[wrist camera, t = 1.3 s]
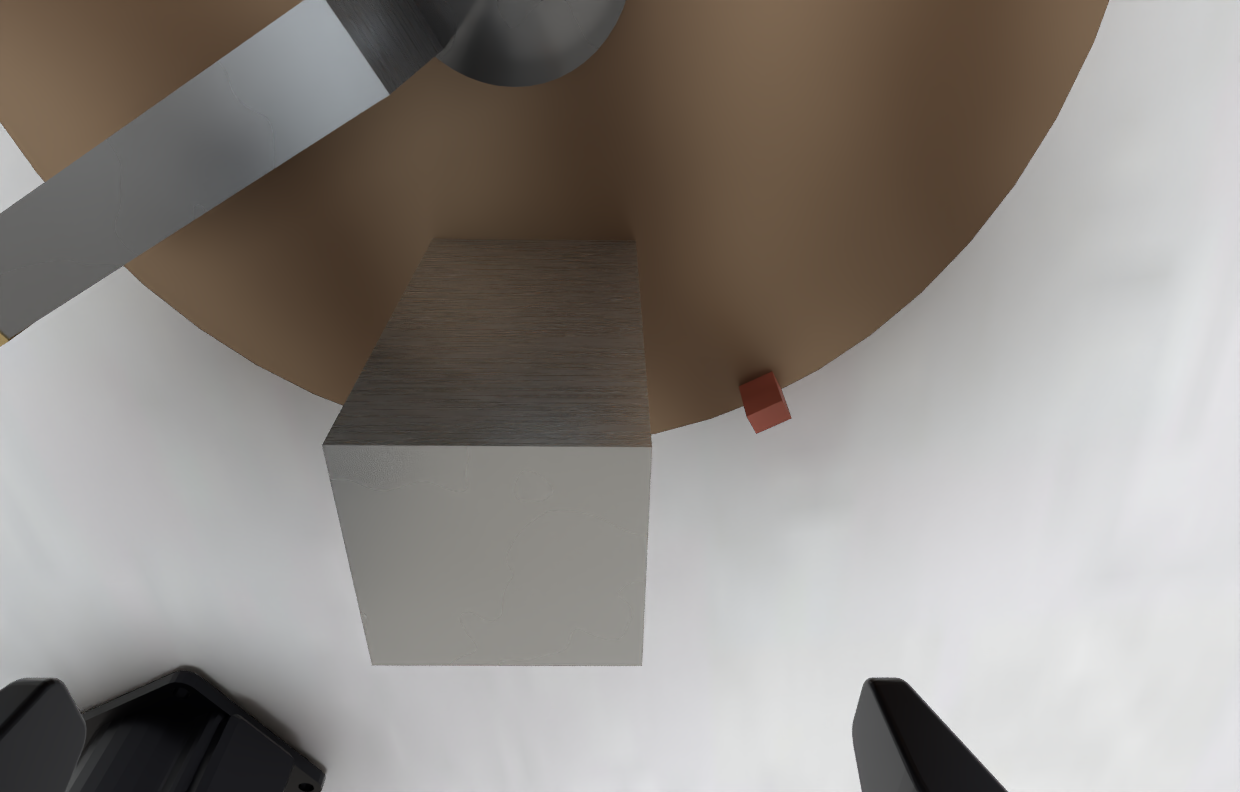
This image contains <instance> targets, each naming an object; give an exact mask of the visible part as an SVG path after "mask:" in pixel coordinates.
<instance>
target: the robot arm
mask: <svg viewBox="0 0 1240 792" xmlns="http://www.w3.org/2000/svg"><path fill="white" fill-rule="evenodd" d="M852 737H853V746H854V751H855V757H856V762H857V768H858V773H859V779H860V784H861V789H862V792H1008V791H1007V790H1006V789H1005V788H1004V787H1003V786H1002V785H1001V784H1000V783H999V782H998V780H997V779H996V778H995V777H994V776H993V775H992V774H991V773H990V772H989V771H988V770H987V768H986V767H985V766H984V765H983V764H982V763H981V762H980V761H979V760H978V759H977V758H976V757H975V755H974V754H973V753H972V752H971V751H970V750H969V749H968V748H967V747H966V746H965V745H964V744H963V742H962V741H961V740H960V739H959V738H958V737H957V736H956V735H955V734H954V733H953V732H952V731H951V729H950V728H949V727H948V726H947V725H946V724H945V723H944V722H943V721H942V720H941V719H940V717H939V716H938V715H937V714H936V713H935V712H934V711H933V710H932V709H931V708H930V707H929V706H928V704H927V703H926V702H925V701H924V700H923V699H922V698H921V697H920V696H919V695H918V694H917V693H916V691H915V690H914V689H913V688H912V687H911V686H910V685H909V684H908V683H907V682H906V681H904V680H902V679H900V678H868V679H867V680H866V681H865V682H864V684H863V687H862V691H861V694H860V698H859V702H858V705H857V709H856V713H855V716H854V720H853V726H852ZM324 781H325V774H324V773H323V772H322V771H321V770H319V769H318V768H317V767H315V766H314V765H313V764H312V763H310V762H309V761H308V760H307V759H305V758H304V757H303V756H301V755H300V754H299V753H298V752H296V751H295V750H294V749H292V748H291V747H290V746H289V745H287V744H286V743H285V742H283V741H282V740H281V739H280V738H278V737H277V736H276V735H274V734H273V733H272V732H271V731H269V730H268V729H267V728H265V727H264V726H263V725H262V724H260V723H259V722H258V721H256V720H255V719H254V718H253V717H251V716H250V715H249V714H247V713H246V712H245V711H244V710H242V709H241V708H240V707H238V706H237V705H236V704H235V703H233V702H232V701H231V700H229V699H228V698H227V697H226V696H224V695H223V694H222V693H220V692H219V691H218V690H217V689H215V688H214V687H213V686H211V685H210V684H209V683H208V682H206V681H205V680H204V679H202V678H201V677H200V676H198V675H196V674H195V673H192V672H188V671H178V672H174V673H172V674H170V675H168V676H165V677H163V678H161V679H159V680H157V681H154V682H152V683H150V684H148V685H145V686H143V687H141V688H139V689H137V690H134V691H132V692H130V693H128V694H125V695H123V696H121V697H119V698H117V699H114V700H112V701H110V702H108V703H105V704H103V705H101V706H99V707H97V708H94V709H92V710H90V711H88V712H85V713H83V714H81V713H80V711H79V709H78V707H77V706H76V704H75V702H74V700H73V698H72V696H71V694H70V693H69V691H68V689H67V687H66V685H65V684H64V683H63V682H62V681H61V680H59V679H57V678H23V679H19V680H16V681H14V682H12V683H10V684H9V685H7V686H6V687H4V688H3V689H1V690H0V792H321V790H322V787H323V784H324Z"/></svg>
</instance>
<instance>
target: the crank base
mask: <svg viewBox="0 0 1240 792" xmlns="http://www.w3.org/2000/svg"><path fill="white" fill-rule="evenodd" d="M302 1H304V0H0V122H1V124H2V125H3V126H4V128H5V129H6V131H7V132H8V133H9V135H10V136H11V138H12V139H13V140H14V142H15V143H16V145H17V146H18V147H19V149H20V150H21V152H22V153H23V154H24V156H25V157H26V159H27V160H28V161H29V163H30V164H31V165H32V167H33V168H34V170H35V171H36V172H37V174H38V175H39V176H40V177H41V178H42V179H43V180H44V182H46V181H47V180H49V179H50V178H52V177H53V176H55V175H56V174H57V173H59V172H60V171H62V170H63V169H64V168H66V167H67V166H69V165H70V164H72V163H73V162H74V161H76V160H77V159H79V158H80V157H82V156H83V155H84V154H86V153H87V152H89V151H90V150H92V149H93V148H94V147H96V146H97V145H99V144H100V143H101V142H103V141H104V140H106V139H107V138H109V137H110V136H111V135H113V134H114V133H116V132H117V131H119V130H120V129H121V128H123V127H124V126H126V125H127V124H129V123H130V122H131V121H133V120H134V119H136V118H137V117H138V116H140V115H141V114H143V113H144V112H146V111H147V110H148V109H150V108H151V107H153V106H154V105H156V104H157V103H158V102H160V101H161V100H163V99H164V98H166V97H167V96H168V95H170V94H171V93H173V92H174V91H175V90H177V89H178V88H180V87H181V86H183V85H184V84H185V83H187V82H188V81H190V80H191V79H193V78H194V77H195V76H197V75H198V74H200V73H201V72H203V71H204V70H205V69H207V68H208V67H210V66H211V65H213V64H214V63H215V62H217V61H218V60H220V59H221V58H222V57H224V56H225V55H227V54H228V53H230V52H231V51H232V50H234V49H235V48H237V47H238V46H240V45H241V44H242V43H244V42H245V41H247V40H248V39H250V38H251V37H252V36H254V35H255V34H257V33H258V32H259V31H261V30H262V29H264V28H265V27H267V26H268V25H269V24H271V23H272V22H274V21H275V20H277V19H278V18H279V17H281V16H282V15H284V14H285V13H287V12H288V11H289V10H291V9H292V8H294V7H295V6H296V5H298V4H299V3H301V2H302ZM1108 2H1109V0H626V2H625V5H624V8H623V10H622V12H621V14H620V17H619V19H618V21H617V23H616V25H615V26H614V28H613V30H612V31H611V33H610V34H609V36H608V38H607V39H606V40H605V42H604V43H603V44H602V45H601V46H600V48H599V49H598V50H597V51H596V52H595V53H594V54H593V55H592V56H591V57H590V58H589V59H588V60H587V61H585V62H584V63H583V64H581V65H580V66H579V67H577V68H576V69H574V70H573V71H571V72H569V73H567V74H566V75H564V76H562V77H560V78H558V79H555V80H552V81H549V82H546V83H543V84H538V85H533V86H525V87H506V86H496V85H492V84H487V83H483V82H480V81H477V80H474V79H472V78H469V77H466V76H465V75H463V74H461V73H459V72H457V71H455V70H453V69H451V68H450V67H448V66H447V65H446V64H444V63H443V62H441V61H440V60H438V59H437V58H436V57H434V58H432V59H431V60H430V61H429V62H428V63H427V64H425V65H424V66H423V67H422V68H421V69H419V70H418V71H417V72H416V73H415V74H414V75H412V76H411V77H410V78H409V79H408V80H406V81H405V82H404V83H403V84H402V85H401V86H399V87H398V88H397V89H396V90H395V91H393V92H392V93H391V94H390V95H388V96H387V97H385V98H384V99H382V100H381V101H379V102H378V103H376V104H374V105H373V106H371V107H370V108H368V109H367V110H365V111H363V112H362V113H360V114H359V115H357V116H356V117H354V118H353V119H351V120H349V121H348V122H346V123H345V124H343V125H342V126H340V127H339V128H337V129H335V130H334V131H332V132H331V133H329V134H328V135H326V136H324V137H323V138H321V139H320V140H318V141H317V142H315V143H314V144H312V145H310V146H309V147H307V148H306V149H304V150H303V151H301V152H300V153H298V154H296V155H295V156H293V157H292V158H290V159H289V160H287V161H285V162H284V163H282V164H281V165H279V166H278V167H276V168H275V169H273V170H271V171H270V172H268V173H267V174H265V175H264V176H262V177H261V178H259V179H257V180H256V181H254V182H253V183H251V184H250V185H248V186H247V187H245V188H243V189H242V190H240V191H239V192H237V193H236V194H234V195H232V196H231V197H229V198H228V199H226V200H225V201H223V202H222V203H220V204H218V205H217V206H215V207H214V208H212V209H211V210H209V211H208V212H206V213H204V214H203V215H201V216H200V217H198V218H197V219H195V220H193V221H192V222H190V223H189V224H187V225H186V226H184V227H183V228H181V229H179V230H178V231H176V232H175V233H173V234H172V235H170V236H169V237H167V238H165V239H164V240H162V241H161V242H159V243H158V244H156V245H155V246H153V247H151V248H150V249H148V250H147V251H145V252H144V253H142V254H140V255H139V256H137V257H136V258H134V259H133V260H131V261H130V262H128V263H126V264H125V265H123V266H125V267H126V268H127V269H128V270H129V271H130V272H131V273H132V274H133V275H134V276H135V277H136V278H137V279H138V280H139V281H140V282H141V283H142V284H143V285H145V286H146V287H147V288H148V289H150V290H151V291H152V292H154V293H155V294H156V295H157V296H159V297H160V298H161V299H163V300H164V301H165V302H166V303H168V304H169V305H170V306H171V307H173V308H174V309H175V310H177V311H178V312H179V313H180V314H182V315H183V316H184V317H185V318H187V319H188V320H189V321H191V322H192V323H193V324H194V325H196V326H197V327H198V328H200V329H201V330H203V331H204V332H206V333H207V334H209V335H210V336H212V337H214V338H215V339H217V340H218V341H220V342H221V343H223V344H225V345H226V346H228V347H229V348H231V349H232V350H234V351H236V352H237V353H239V354H240V355H242V356H243V357H245V358H246V359H248V360H250V361H251V362H253V363H254V364H256V365H258V366H260V367H262V368H264V369H266V370H268V371H270V372H271V373H273V374H275V375H277V376H279V377H281V378H283V379H285V380H287V381H289V382H291V383H293V384H295V385H297V386H299V387H301V388H303V389H305V390H307V391H309V392H311V393H313V394H315V395H318V396H320V397H323V398H325V399H328V400H331V401H333V402H336V403H338V404H341V405H344V404H345V402H346V400H347V398H348V396H349V394H350V392H351V390H352V389H353V387H354V385H355V383H356V381H357V379H358V377H359V376H360V374H361V372H362V370H363V368H364V366H365V364H366V362H367V361H368V359H369V357H370V355H371V353H372V351H373V349H374V348H375V346H376V344H377V342H378V340H379V338H380V336H381V334H382V333H383V331H384V329H385V327H386V325H387V323H388V321H389V319H390V318H391V316H392V314H393V312H394V310H395V308H396V306H397V305H398V303H399V301H400V299H401V297H402V295H403V293H404V291H405V290H406V288H407V286H408V284H409V282H410V280H411V278H412V277H413V275H414V273H415V271H416V269H417V267H418V265H419V263H420V262H421V260H422V258H423V256H424V254H425V252H426V250H427V249H428V247H429V245H430V243H431V241H432V239H433V238H434V239H523V240H613V241H636V249H637V262H638V275H639V287H640V300H641V313H642V326H643V339H644V352H645V365H646V378H647V391H648V403H649V416H650V429H651V434H656V433H660V432H663V431H667V430H671V429H674V428H678V427H682V426H686V425H689V424H693V423H697V422H700V421H704V420H708V419H711V418H714V417H716V416H719V415H722V414H724V413H727V412H729V411H732V410H734V409H737V408H740V407H742V406H744V408H745V412H746V416H747V418H748V420H749V422H750V423H751V425H752V427H753V429H754V430H755V432H756V434H757V433H759V432H762V431H764V430H766V429H768V428H771V427H773V426H775V425H777V424H780V423H782V422H784V421H786V420H789V419H791V415H790V412H789V409H788V407H787V404H786V401H785V398H784V395H783V393H782V390H781V389H782V388H784V387H786V386H788V385H790V384H792V383H794V382H796V381H798V380H800V379H802V378H804V377H805V376H807V375H809V374H811V373H813V372H815V371H817V370H819V369H820V368H822V367H823V366H825V365H826V364H828V363H829V362H831V361H832V360H834V359H835V358H837V357H838V356H840V355H841V354H843V353H844V352H846V351H847V350H849V349H850V348H852V347H853V346H855V345H856V344H858V343H859V342H861V341H862V340H864V339H865V338H867V337H868V336H870V335H871V334H872V333H874V332H875V331H876V330H877V329H878V328H880V327H881V326H882V325H883V324H884V323H886V322H887V321H888V320H889V319H890V318H892V317H893V316H894V315H895V314H896V313H898V312H899V311H900V310H901V309H902V308H904V307H905V306H906V305H907V304H908V303H910V302H911V301H912V300H913V299H914V298H916V297H917V296H918V295H919V294H920V293H921V292H922V291H923V290H924V289H925V288H926V287H927V286H928V285H929V284H930V283H931V282H932V281H933V280H934V279H935V278H936V277H937V276H938V275H939V274H940V273H941V272H942V271H943V270H944V269H945V268H946V267H947V266H948V265H949V263H950V262H951V261H952V260H953V259H954V258H955V257H956V256H957V255H958V254H959V253H960V252H961V251H962V250H963V249H964V248H965V247H966V246H967V245H968V244H969V243H970V242H971V240H972V239H973V238H974V236H975V235H976V234H977V233H978V231H979V230H980V229H981V227H982V226H983V225H984V224H985V222H986V221H987V220H988V218H989V217H990V216H991V215H992V213H993V212H994V211H995V210H996V208H997V207H998V206H999V204H1000V203H1001V202H1002V201H1003V199H1004V198H1005V197H1006V195H1007V194H1008V193H1009V192H1010V190H1011V189H1012V188H1013V187H1014V185H1015V184H1016V182H1017V181H1018V179H1019V177H1020V176H1021V174H1022V173H1023V171H1024V169H1025V168H1026V166H1027V165H1028V163H1029V161H1030V160H1031V158H1032V157H1033V155H1034V153H1035V152H1036V150H1037V149H1038V147H1039V145H1040V144H1041V142H1042V141H1043V139H1044V137H1045V136H1046V134H1047V133H1048V131H1049V129H1050V128H1051V126H1052V125H1053V123H1054V121H1055V120H1056V118H1057V116H1058V114H1059V112H1060V110H1061V108H1062V106H1063V104H1064V102H1065V100H1066V98H1067V96H1068V94H1069V92H1070V90H1071V88H1072V86H1073V84H1074V82H1075V80H1076V77H1077V75H1078V73H1079V71H1080V69H1081V67H1082V65H1083V63H1084V61H1085V59H1086V57H1087V55H1088V53H1089V51H1090V49H1091V47H1092V45H1093V43H1094V40H1095V38H1096V35H1097V32H1098V29H1099V27H1100V24H1101V21H1102V19H1103V16H1104V13H1105V10H1106V8H1107V5H1108Z"/></svg>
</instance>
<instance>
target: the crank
mask: <svg viewBox="0 0 1240 792" xmlns="http://www.w3.org/2000/svg"><path fill="white" fill-rule="evenodd" d="M625 2H626V0H304V1H302V2H301V3H299V4H298V5H296V6H295V7H294V8H292V9H291V10H289V11H288V12H287V13H285V14H284V15H282V16H281V17H279V18H278V19H277V20H275V21H274V22H272V23H271V24H269V25H268V26H267V27H265V28H264V29H262V30H261V31H259V32H258V33H257V34H255V35H254V36H252V37H251V38H250V39H248V40H247V41H245V42H244V43H242V44H241V45H240V46H238V47H237V48H235V49H234V50H232V51H231V52H230V53H228V54H227V55H225V56H224V57H222V58H221V59H220V60H218V61H217V62H215V63H214V64H213V65H211V66H210V67H208V68H207V69H205V70H204V71H203V72H201V73H200V74H198V75H197V76H195V77H194V78H193V79H191V80H190V81H188V82H187V83H185V84H184V85H183V86H181V87H180V88H178V89H177V90H175V91H174V92H173V93H171V94H170V95H168V96H167V97H166V98H164V99H163V100H161V101H160V102H158V103H157V104H156V105H154V106H153V107H151V108H150V109H148V110H147V111H146V112H144V113H143V114H141V115H140V116H138V117H137V118H136V119H134V120H133V121H131V122H130V123H129V124H127V125H126V126H124V127H123V128H121V129H120V130H119V131H117V132H116V133H114V134H113V135H111V136H110V137H109V138H107V139H106V140H104V141H103V142H101V143H100V144H99V145H97V146H96V147H94V148H93V149H92V150H90V151H89V152H87V153H86V154H84V155H83V156H82V157H80V158H79V159H77V160H76V161H74V162H73V163H72V164H70V165H69V166H67V167H66V168H64V169H63V170H62V171H60V172H59V173H57V174H56V175H55V176H53V177H52V178H50V179H49V180H47V181H46V182H45V183H43V184H42V185H40V186H39V187H37V188H36V189H35V190H33V191H32V192H30V193H29V194H27V195H26V196H25V197H23V198H22V199H20V200H19V201H18V202H16V203H15V204H13V205H12V206H10V207H9V208H8V209H6V210H5V211H3V212H2V213H0V346H2V345H3V344H5V343H6V342H8V341H10V340H11V339H12V338H14V337H15V336H16V335H18V334H19V333H21V332H22V331H23V330H25V329H26V328H28V327H29V326H30V325H32V324H33V323H35V322H36V321H38V320H39V319H41V318H42V317H44V316H45V315H47V314H48V313H50V312H52V311H53V310H55V309H56V308H58V307H59V306H61V305H62V304H64V303H66V302H67V301H69V300H70V299H72V298H73V297H75V296H77V295H78V294H80V293H81V292H83V291H84V290H86V289H87V288H89V287H91V286H92V285H94V284H95V283H97V282H98V281H100V280H101V279H103V278H105V277H106V276H108V275H109V274H111V273H112V272H114V271H116V270H117V269H119V268H120V267H122V266H123V265H125V264H126V263H128V262H130V261H131V260H133V259H134V258H136V257H137V256H139V255H140V254H142V253H144V252H145V251H147V250H148V249H150V248H151V247H153V246H155V245H156V244H158V243H159V242H161V241H162V240H164V239H165V238H167V237H169V236H170V235H172V234H173V233H175V232H176V231H178V230H179V229H181V228H183V227H184V226H186V225H187V224H189V223H190V222H192V221H193V220H195V219H197V218H198V217H200V216H201V215H203V214H204V213H206V212H208V211H209V210H211V209H212V208H214V207H215V206H217V205H218V204H220V203H222V202H223V201H225V200H226V199H228V198H229V197H231V196H232V195H234V194H236V193H237V192H239V191H240V190H242V189H243V188H245V187H247V186H248V185H250V184H251V183H253V182H254V181H256V180H257V179H259V178H261V177H262V176H264V175H265V174H267V173H268V172H270V171H271V170H273V169H275V168H276V167H278V166H279V165H281V164H282V163H284V162H285V161H287V160H289V159H290V158H292V157H293V156H295V155H296V154H298V153H300V152H301V151H303V150H304V149H306V148H307V147H309V146H310V145H312V144H314V143H315V142H317V141H318V140H320V139H321V138H323V137H324V136H326V135H328V134H329V133H331V132H332V131H334V130H335V129H337V128H339V127H340V126H342V125H343V124H345V123H346V122H348V121H349V120H351V119H353V118H354V117H356V116H357V115H359V114H360V113H362V112H363V111H365V110H367V109H368V108H370V107H371V106H373V105H374V104H376V103H378V102H379V101H381V100H382V99H384V98H385V97H387V96H388V95H390V94H391V93H392V92H393V91H395V90H396V89H397V88H398V87H399V86H401V85H402V84H403V83H404V82H405V81H406V80H408V79H409V78H410V77H411V76H412V75H414V74H415V73H416V72H417V71H418V70H419V69H421V68H422V67H423V66H424V65H425V64H427V63H428V62H429V61H430V60H431V59H432V58H434V57H436V58H437V59H438V60H440V61H441V62H443V63H444V64H446V65H447V66H448V67H450V68H451V69H453V70H455V71H457V72H459V73H461V74H463V75H465V76H466V77H469V78H472V79H474V80H477V81H480V82H483V83H487V84H492V85H496V86H506V87H525V86H533V85H538V84H543V83H546V82H549V81H552V80H555V79H558V78H560V77H562V76H564V75H566V74H567V73H569V72H571V71H573V70H574V69H576V68H577V67H579V66H580V65H581V64H583V63H584V62H585V61H587V60H588V59H589V58H590V57H591V56H592V55H593V54H594V53H595V52H596V51H597V50H598V49H599V48H600V46H601V45H602V44H603V43H604V42H605V40H606V39H607V38H608V36H609V34H610V33H611V31H612V30H613V28H614V26H615V25H616V23H617V21H618V19H619V17H620V14H621V12H622V10H623V8H624V5H625Z"/></svg>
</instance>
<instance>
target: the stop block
mask: <svg viewBox="0 0 1240 792" xmlns="http://www.w3.org/2000/svg"><path fill="white" fill-rule="evenodd" d="M322 446H323V451H324V455H325V459H326V464H327V468H328V473H329V477H330V482H331V486H332V490H333V495H334V499H335V504H336V508H337V512H338V517H339V521H340V526H341V530H342V535H343V539H344V543H345V548H346V552H347V557H348V561H349V565H350V570H351V574H352V579H353V583H354V588H355V592H356V596H357V601H358V605H359V610H360V614H361V619H362V623H363V627H364V632H365V636H366V641H367V645H368V649H369V654H370V658H371V663H372V665H448V666H642V653H643V631H644V609H645V587H646V565H647V543H648V522H649V500H650V478H651V456H652V442H651V429H650V416H649V403H648V391H647V378H646V365H645V352H644V339H643V326H642V313H641V300H640V287H639V275H638V262H637V249H636V241H613V240H523V239H434V238H433V239H432V241H431V243H430V245H429V247H428V249H427V250H426V252H425V254H424V256H423V258H422V260H421V262H420V263H419V265H418V267H417V269H416V271H415V273H414V275H413V277H412V278H411V280H410V282H409V284H408V286H407V288H406V290H405V291H404V293H403V295H402V297H401V299H400V301H399V303H398V305H397V306H396V308H395V310H394V312H393V314H392V316H391V318H390V319H389V321H388V323H387V325H386V327H385V329H384V331H383V333H382V334H381V336H380V338H379V340H378V342H377V344H376V346H375V348H374V349H373V351H372V353H371V355H370V357H369V359H368V361H367V362H366V364H365V366H364V368H363V370H362V372H361V374H360V376H359V377H358V379H357V381H356V383H355V385H354V387H353V389H352V390H351V392H350V394H349V396H348V398H347V400H346V402H345V404H344V405H343V407H342V409H341V411H340V413H339V415H338V417H337V418H336V420H335V422H334V424H333V426H332V428H331V430H330V432H329V433H328V435H327V437H326V439H325V441H324V443H323V445H322Z"/></svg>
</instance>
